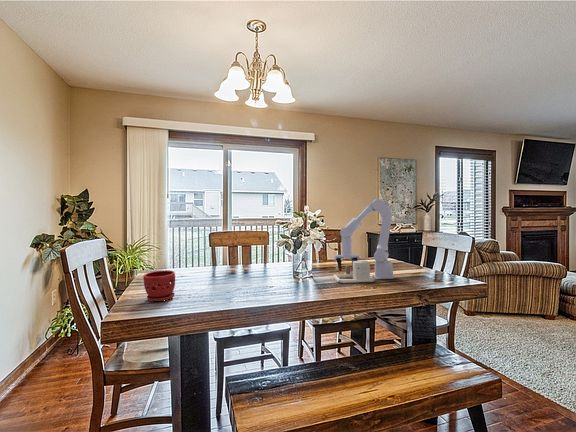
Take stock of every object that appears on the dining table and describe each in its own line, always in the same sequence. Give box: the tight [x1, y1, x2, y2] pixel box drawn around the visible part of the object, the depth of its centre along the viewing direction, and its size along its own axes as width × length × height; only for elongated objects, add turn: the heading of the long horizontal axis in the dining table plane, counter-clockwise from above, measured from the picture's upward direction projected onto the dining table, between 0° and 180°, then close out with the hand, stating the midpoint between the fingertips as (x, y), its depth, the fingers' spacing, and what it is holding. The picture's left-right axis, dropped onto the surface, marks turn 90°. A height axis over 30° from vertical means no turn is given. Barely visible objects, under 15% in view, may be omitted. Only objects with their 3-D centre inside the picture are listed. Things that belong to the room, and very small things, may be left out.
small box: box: [352, 260, 371, 279], centre depth 175 cm, size 8×6×10 cm
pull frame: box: [332, 265, 376, 284], centre depth 181 cm, size 19×20×5 cm
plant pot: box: [142, 269, 176, 302], centre depth 145 cm, size 13×13×12 cm
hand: (346, 270), depth 192 cm, fingers open, 7 cm apart
